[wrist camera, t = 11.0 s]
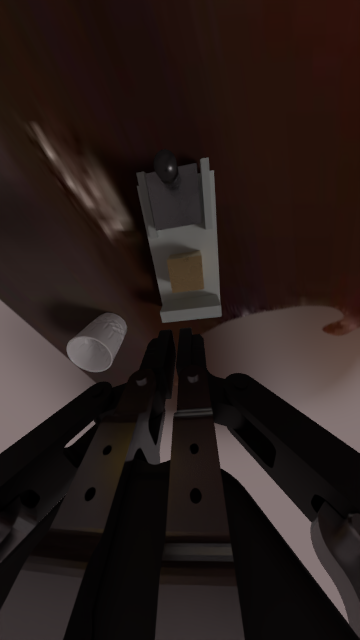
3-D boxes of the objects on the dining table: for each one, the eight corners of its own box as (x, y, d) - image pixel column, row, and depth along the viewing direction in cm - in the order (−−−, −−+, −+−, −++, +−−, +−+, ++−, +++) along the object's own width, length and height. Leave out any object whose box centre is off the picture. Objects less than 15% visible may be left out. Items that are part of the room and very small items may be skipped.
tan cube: (200, 250, 29) (201, 255, 25) (202, 280, 32) (204, 289, 27) (170, 254, 30) (166, 260, 25) (174, 283, 32) (172, 293, 28)
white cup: (105, 302, 37) (77, 327, 28) (136, 324, 39) (120, 354, 30) (88, 326, 40) (59, 356, 31) (118, 346, 42) (99, 378, 33)
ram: (153, 182, 25) (129, 157, 15) (195, 173, 24) (198, 141, 15) (161, 229, 28) (145, 233, 18) (199, 222, 27) (204, 223, 17)
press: (137, 179, 26) (122, 168, 21) (212, 163, 25) (218, 146, 19) (164, 307, 36) (159, 322, 31) (219, 300, 35) (224, 316, 29)
